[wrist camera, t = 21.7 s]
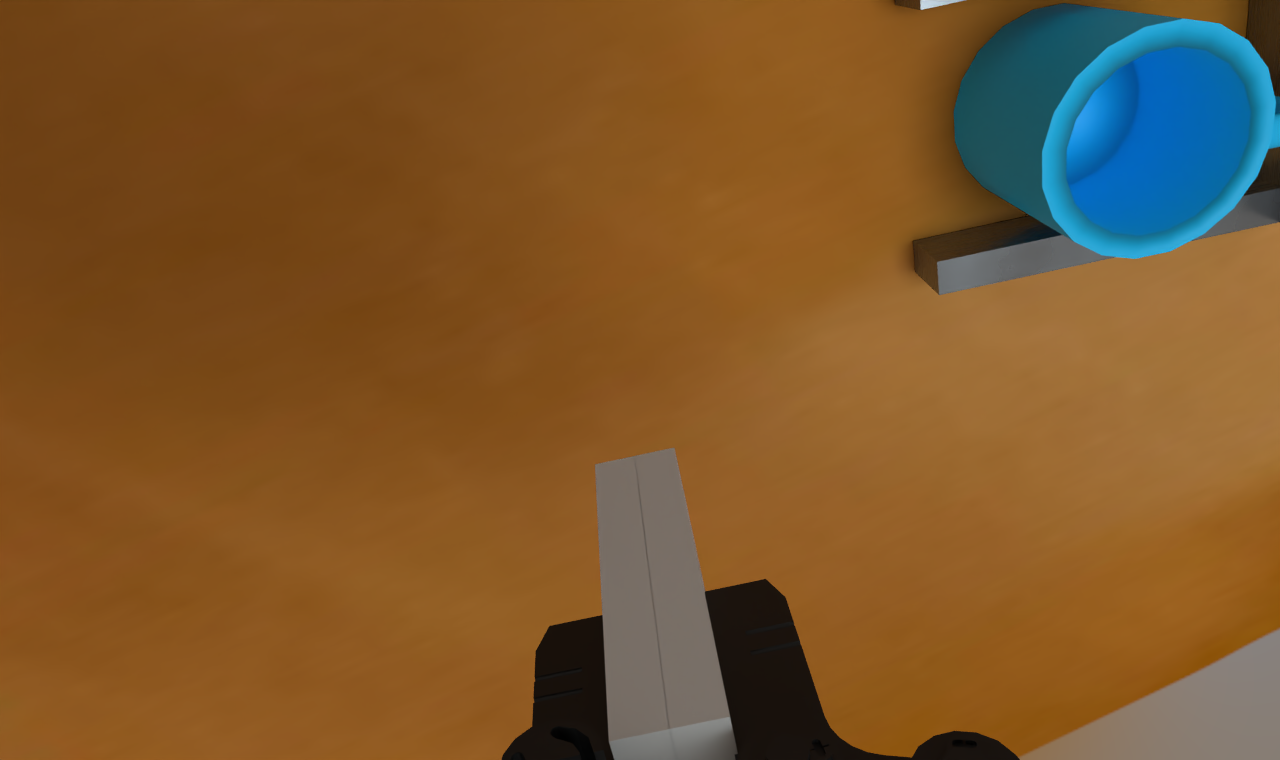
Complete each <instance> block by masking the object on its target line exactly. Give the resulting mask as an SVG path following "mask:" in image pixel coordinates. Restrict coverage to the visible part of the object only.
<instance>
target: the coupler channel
mask: <svg viewBox="0 0 1280 760" xmlns="http://www.w3.org/2000/svg"><path fill="white" fill-rule="evenodd" d="M959 1H964V0H895V5H899V6H904V7H909V8H914V9H919V10H923V9H928V8H932V7H937V6H941V5H946V4H950V3H955V2H959ZM1246 39H1247V40H1249V42H1250V43H1251V44H1252V46H1253V47H1254V49H1255V50H1256V51H1257V53H1258V54H1259V56H1260V57H1261V59H1262V60H1263V61H1264V63H1265V64H1266V66H1267V67H1268V69H1269V74H1270V78H1271V82H1272V87H1273V91H1274V95H1275V96H1279V97H1280V0H1250V1H1249V14H1248V26H1247V38H1246ZM1277 222H1280V147H1276V148H1271V149H1268V151H1267V153H1266V156H1265V158H1264V161H1263V163H1262V166H1261V168H1260V171H1259V173H1258V176H1257V177H1256V179H1255V180H1254V181H1253V183H1252V184H1251V185H1250V187H1249V188H1248V190H1247V191H1246V192H1245V194H1244V195H1243V196H1242V198H1241V199H1240V201H1239V202H1238V203H1237V205H1236V206H1235V207H1234V209H1233V210H1231V211H1230V212H1229V213H1228V214H1227V215H1226V216H1224V217H1223V218H1222V219H1221V220H1220V221H1219V222H1217V223H1216V224H1215V225H1214V226H1213V227H1212V228H1210V229H1209V230H1208V231H1207V232H1206V233H1205V234H1203V235H1201V236H1199V237H1197V238H1195V239H1193V240H1198V239H1202V238H1207V237H1212V236H1216V235H1221V234H1226V233H1230V232H1235V231H1240V230H1244V229H1249V228H1254V227H1258V226H1263V225H1268V224H1272V223H1277ZM1193 240H1191V241H1193ZM913 247H914V261H915V272H916V273H917V274H918V275H919V276H920V277H921V278H922V279H923V280H924V281H925V282H926V283H927V284H928V285H929V286H930V287H931V288H932V289H933V290H934V291H936V292H937V293H938V294H939V295H942V294H946V293H951V292H956V291H960V290H965V289H970V288H974V287H979V286H983V285H988V284H993V283H997V282H1002V281H1007V280H1011V279H1016V278H1021V277H1025V276H1030V275H1035V274H1039V273H1044V272H1049V271H1053V270H1058V269H1063V268H1067V267H1072V266H1077V265H1081V264H1086V263H1091V262H1095V261H1100V260H1105V259H1109V258H1114V257H1113V256H1103V255H1100V254H1098V253H1096V252H1094V251H1092V250H1090V249H1088V248H1086V247H1084V246H1082V245H1080V244H1078V243H1076V242H1074V241H1072V240H1070V239H1069V238H1067V237H1065V236H1064V235H1062V234H1060V233H1059V232H1057V231H1055V230H1054V229H1052V228H1050V227H1049V226H1047V225H1045V224H1044V223H1042V222H1040V221H1039V220H1037V219H1035V218H1034V217H1032V216H1026V217H1021V218H1017V219H1012V220H1007V221H1003V222H998V223H993V224H989V225H984V226H980V227H975V228H970V229H966V230H961V231H956V232H952V233H947V234H943V235H938V236H933V237H929V238H924V239H919V240H915V241H913Z"/></svg>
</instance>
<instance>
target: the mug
mask: <svg viewBox="0 0 1280 760" xmlns="http://www.w3.org/2000/svg"><path fill="white" fill-rule="evenodd" d="M954 129H955V143H956V145H957V148H958V150H959V153H960V155H961V158H962V161H963V163H964V166H965V168H966V169H967V170H968V171H969V172H970V173H971V174H972V175H973V177H974V178H975V179H976V180H977V181H978V182H979V183H980V184H981V185H982V186H983V187H984V188H985V189H987V190H989V191H990V192H992V193H994V194H995V195H997V196H999V197H1000V198H1002V199H1004V200H1005V201H1007V202H1009V203H1010V204H1012V205H1014V206H1015V207H1017V208H1019V209H1020V210H1022V211H1024V212H1025V213H1027V214H1029V215H1030V216H1032V217H1034V218H1035V219H1037V220H1039V221H1040V222H1042V223H1044V224H1045V225H1047V226H1049V227H1050V228H1052V229H1054V230H1055V231H1057V232H1059V233H1060V234H1062V235H1064V236H1065V237H1067V238H1069V239H1070V240H1072V241H1074V242H1076V243H1078V244H1080V245H1082V246H1084V247H1086V248H1088V249H1090V250H1092V251H1094V252H1096V253H1098V254H1100V255H1103V256H1113V257H1123V258H1132V259H1136V258H1141V257H1146V256H1150V255H1155V254H1160V253H1165V252H1170V251H1172V250H1174V249H1176V248H1178V247H1180V246H1181V245H1183V244H1185V243H1187V242H1189V241H1191V240H1193V239H1195V238H1197V237H1199V236H1201V235H1203V234H1205V233H1206V232H1207V231H1208V230H1209V229H1210V228H1212V227H1213V226H1214V225H1215V224H1216V223H1217V222H1219V221H1220V220H1221V219H1222V218H1223V217H1224V216H1226V215H1227V214H1228V213H1229V212H1230V211H1231V210H1233V209H1234V207H1235V206H1236V205H1237V203H1238V202H1239V201H1240V199H1241V198H1242V196H1243V195H1244V194H1245V192H1246V191H1247V190H1248V188H1249V187H1250V185H1251V184H1252V183H1253V181H1254V180H1255V179H1256V177H1257V176H1258V173H1259V171H1260V168H1261V166H1262V163H1263V161H1264V158H1265V156H1266V153H1267V151H1268V149H1271V148H1276V147H1280V97H1279V96H1275V95H1274V91H1273V87H1272V82H1271V78H1270V74H1269V69H1268V67H1267V66H1266V64H1265V63H1264V61H1263V60H1262V59H1261V57H1260V56H1259V54H1258V53H1257V51H1256V50H1255V49H1254V47H1253V46H1252V44H1251V43H1250V42H1249V40H1247V39H1245V38H1243V37H1242V36H1240V35H1238V34H1237V33H1235V32H1233V31H1232V30H1230V29H1228V28H1226V27H1225V26H1223V25H1221V24H1220V23H1212V22H1205V21H1197V20H1190V19H1182V18H1174V17H1167V16H1159V15H1151V14H1144V13H1136V12H1128V11H1120V10H1113V9H1105V8H1097V7H1090V6H1082V5H1074V4H1066V3H1062V4H1058V5H1053V6H1048V7H1044V8H1039V9H1034V10H1031V11H1030V12H1028V13H1026V14H1024V15H1023V16H1021V17H1019V18H1017V19H1015V20H1014V21H1012V22H1010V23H1008V24H1007V25H1005V26H1003V27H1002V28H1001V29H1000V30H999V31H998V32H997V33H996V34H995V35H994V36H993V37H992V38H991V39H990V40H989V41H988V42H987V43H986V44H985V45H984V46H983V47H982V48H981V49H980V50H979V51H978V53H977V55H976V56H975V58H974V60H973V62H972V63H971V65H970V67H969V69H968V70H967V72H966V74H965V76H964V77H963V79H962V81H961V85H960V89H959V93H958V97H957V101H956V105H955V109H954Z"/></svg>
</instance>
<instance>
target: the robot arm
mask: <svg viewBox="0 0 1280 760" xmlns="http://www.w3.org/2000/svg"><path fill="white" fill-rule="evenodd" d="M595 471H596V492H597V512H598V532H599V553H600V573H601V593H602V613H603V615H601V616H596V617H591V618H586V619H581V620H576V621H572V622H567V623H562V624H557V625H552V626H549V628H548V630H547V632H546V634H545V635H544V637H543V639H542V641H541V643H540V645H539V646H538V648H537V650H536V658H535V682H534V703H533V722H532V727H531V728H530V729H528V730H527V731H526V732H524V733H523V734H521V735H520V736H519V737H517V738H516V739H515V740H514V741H513V742H512V744H511V745H510V746H509V748H508V749H507V750H506V752H505V753H504V754H503V757H502V760H1020V759H1019V758H1018V757H1017V756H1016V755H1015V754H1014V753H1013V752H1011V751H1010V750H1009V749H1008V748H1006V747H1005V746H1004V745H1003V744H1001V743H1000V742H999V741H997V740H995V739H992V738H989V737H987V736H984V735H981V734H979V733H974V732H961V731H952V732H948V733H944V734H940V735H936V736H933V737H932V738H930V739H929V740H927V741H926V742H924V743H923V744H922V745H920V746H919V747H918V748H917V750H916V752H915V753H914V755H913V757H912V758H910V757H898V756H886V755H879V754H874V753H868V752H865V751H863V750H860V749H858V748H855V747H853V746H851V745H850V744H848V743H847V742H845V741H844V740H842V739H841V738H839V737H838V736H837V734H836V733H835V732H834V731H833V730H832V729H831V728H830V726H829V724H828V722H827V720H826V718H825V716H824V713H823V710H822V707H821V704H820V701H819V698H818V695H817V692H816V689H815V686H814V683H813V680H812V677H811V674H810V671H809V668H808V665H807V662H806V658H805V655H804V652H803V649H802V646H801V644H800V640H799V637H798V634H797V631H796V628H795V626H794V622H793V619H792V616H791V613H790V610H789V607H788V604H787V601H786V598H785V596H783V595H782V594H781V593H780V592H779V591H778V590H777V589H776V588H775V587H774V586H773V585H772V584H770V583H769V582H768V581H767V580H766V579H764V580H759V581H754V582H749V583H744V584H740V585H735V586H730V587H725V588H720V589H715V590H711V591H706V592H705V588H704V584H703V579H702V574H701V569H700V564H699V560H698V555H697V551H696V546H695V541H694V537H693V532H692V527H691V523H690V518H689V514H688V509H687V504H686V500H685V495H684V490H683V486H682V481H681V477H680V472H679V467H678V463H677V458H676V453H675V449H674V448H671V449H666V450H661V451H657V452H652V453H647V454H642V455H638V456H633V457H628V458H624V459H619V460H614V461H609V462H605V463H600V464H595Z"/></svg>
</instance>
